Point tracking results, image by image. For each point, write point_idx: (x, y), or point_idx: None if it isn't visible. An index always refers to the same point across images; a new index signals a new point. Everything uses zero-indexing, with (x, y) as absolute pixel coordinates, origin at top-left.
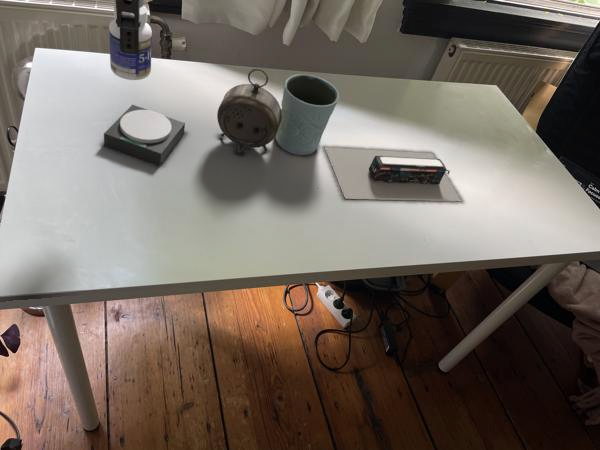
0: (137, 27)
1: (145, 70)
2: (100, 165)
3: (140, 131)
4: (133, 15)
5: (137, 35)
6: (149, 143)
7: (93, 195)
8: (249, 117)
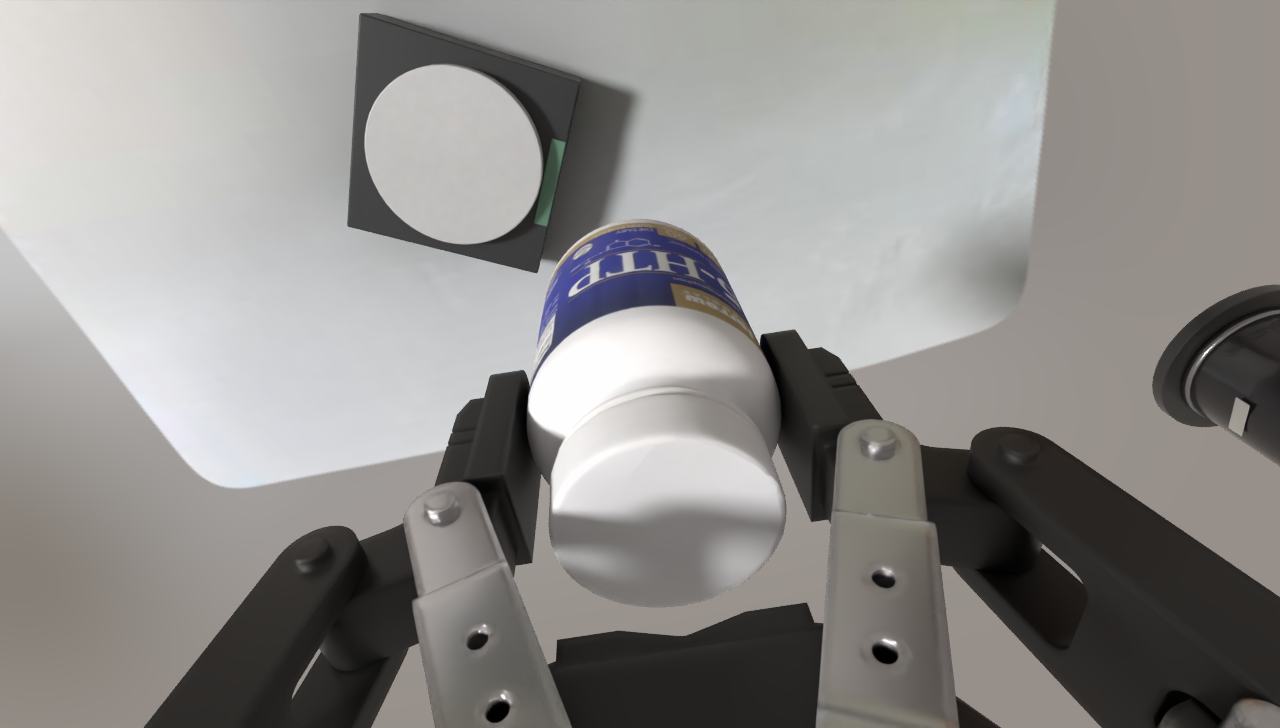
0: (1052, 449)
1: (697, 247)
2: None
3: (503, 172)
4: (783, 494)
5: (833, 393)
6: (537, 131)
7: (746, 237)
8: None
